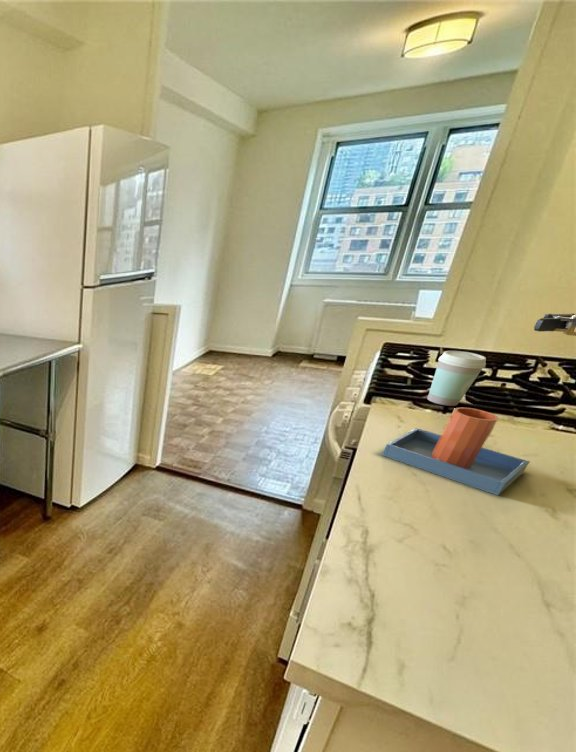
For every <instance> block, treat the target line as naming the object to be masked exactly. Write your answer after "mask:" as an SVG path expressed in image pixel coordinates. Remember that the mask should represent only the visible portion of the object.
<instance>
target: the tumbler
mask: <svg viewBox="0 0 576 752" xmlns="http://www.w3.org/2000/svg"><path fill="white" fill-rule="evenodd" d="M499 419H500V418H499V416H497V415H495V414H494V413H491V412H488V411H486V410H482V409H478V408H472V407H463V406H462V407H456V408H454V409H453V410H452V413H451V414H450V416H449V419H448V420H447V421H446V424H445V426H444V428H443V430H442V432H441V434H440V435H441V436H440V438H439V440H438V442H437V444H436V446H435V448H434V450H433V452H432V455H431V458H434V459H437V460H440V461H443V462H446V463H449V464H452V465H455V466H458V467H461V468H464V469H469V468H471V467H472V465H473V464H474V462H475V460H476V458H477V457H478V455H479V453H480V451H481V450H482V448H484V446H485V445H486V442H487V441H488V439H489V437H490V435H491V433H492V432H493V430H494V429H495V427H496V425H497V423H498V421H499Z"/></svg>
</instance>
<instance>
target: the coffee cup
mask: <svg viewBox="0 0 576 752" xmlns="http://www.w3.org/2000/svg"><path fill="white" fill-rule="evenodd" d="M437 360H438V363H437V366H436V369H435V371H434V376H433V379H432V382H431V385H430V389H429V392H428V394H427V398H426V399H427V400H428V401H429V402H431V403H433V404H437V405H441V406H447V407H454V406H458V405H459V403H460V402H461V400H463V398H464V396H465V395H466V393H467V392H468V390H469V389H470V387H471V386H472V385H473V383H474V382H475V381H476V379H477V377H478V376H479V374H480V373H481V371H482V370H483V369H485V368H486V365H487V363H486V361H487V357H486V356H484V355H482V354H478V353H474V352H469V351H461V350H445V351H444V352H443V353H442V355H440V356H439V358H438V359H437Z"/></svg>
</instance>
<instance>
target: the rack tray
mask: <svg viewBox="0 0 576 752" xmlns="http://www.w3.org/2000/svg"><path fill="white" fill-rule="evenodd" d="M440 436H441V434H438V433H435V432H431V431H428V430H425V429H422V428H418V427H415V428H414V429H412V430H410V431H408V432H406V433H404V434H403V435H401V436H399V437H397V438H395V439H394V440H392V441H390V442H388V443H387V444H386V445H385V447H384V449H383V452H382V454H381V456H383V457H386V458H389V459H392V460H395V461H397V462H400V463H403V464H406V465H409V466H411V467H414V468H418V469H421V470H423V471H426V472H429V473H432V474H435V475H438V476H440V477H443V478H446V479H450V480H452V481H455V482H458V483H461V484H463V485H467V486H470V487H472V488H474V489H475V488H476V489H478V490H481V491H484V492H487V493H490V494H492V495H495V496H499V495H501V493H503V491H505V490H506V489H507V488H508V487H509V486H510V485H512V483H514V481H516V480H517V479H518V478H519V477H520V476H522V474H523V473H524V472H525V470H526V469H527V467H528V466H529V464H530V461H529V460H525V459H522V458H519V457H515V456H513V455H510V454H506V453H502V452H499V451H496V450H492V449H488V448H485V447H483V448H482V450H481V451H480V453H479V455H478V457H477V458H476V460H475V462H474V464H473V465H472V467H471V468H469V469H464V468H461V467H458V466H455V465H452V464H449V463H446V462H443V461H440V460H437V459H434V458H431V455H432V452H433V450H434V448H435V446H436V444H437V442H438V440H439V438H440Z"/></svg>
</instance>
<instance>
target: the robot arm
mask: <svg viewBox="0 0 576 752" xmlns="http://www.w3.org/2000/svg"><path fill="white" fill-rule="evenodd" d="M575 329H576V313H545V314H544V316H543V317H542V318H540V319H537V320H536V323H535V324H534V327H533V330H534V331H535V332H558V333H559V332H560V333H563V334H564V335H566V336H571V337H573V336H574V337H576V331H575Z"/></svg>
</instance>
